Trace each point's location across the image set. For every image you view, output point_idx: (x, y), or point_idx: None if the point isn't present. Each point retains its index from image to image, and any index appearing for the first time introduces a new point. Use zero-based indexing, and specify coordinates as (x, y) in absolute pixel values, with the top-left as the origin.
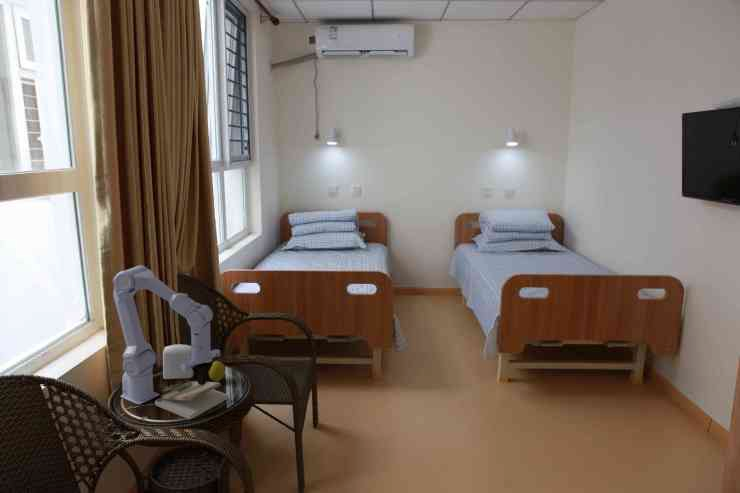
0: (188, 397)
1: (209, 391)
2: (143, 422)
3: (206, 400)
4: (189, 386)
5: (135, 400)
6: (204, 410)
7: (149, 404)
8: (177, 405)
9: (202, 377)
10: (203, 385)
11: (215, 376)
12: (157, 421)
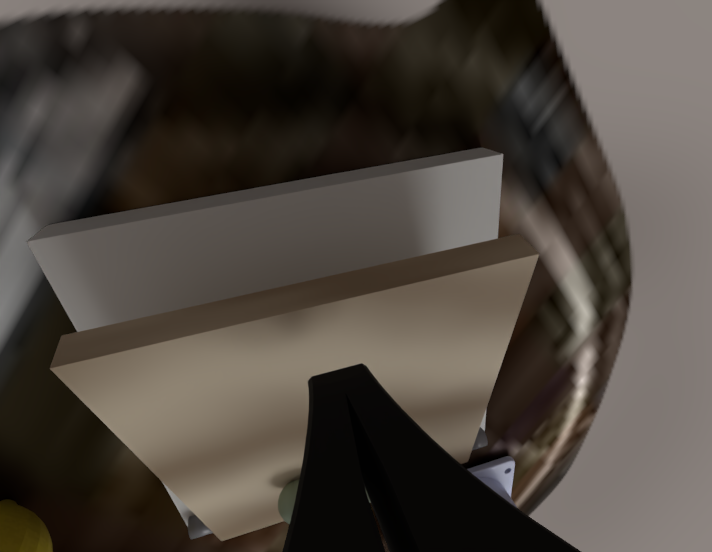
0: (529, 277)
1: None
2: (613, 309)
3: (267, 274)
4: None
5: (504, 488)
6: (344, 175)
7: None
8: None
9: (438, 447)
10: (237, 427)
11: (6, 543)
12: (580, 274)
